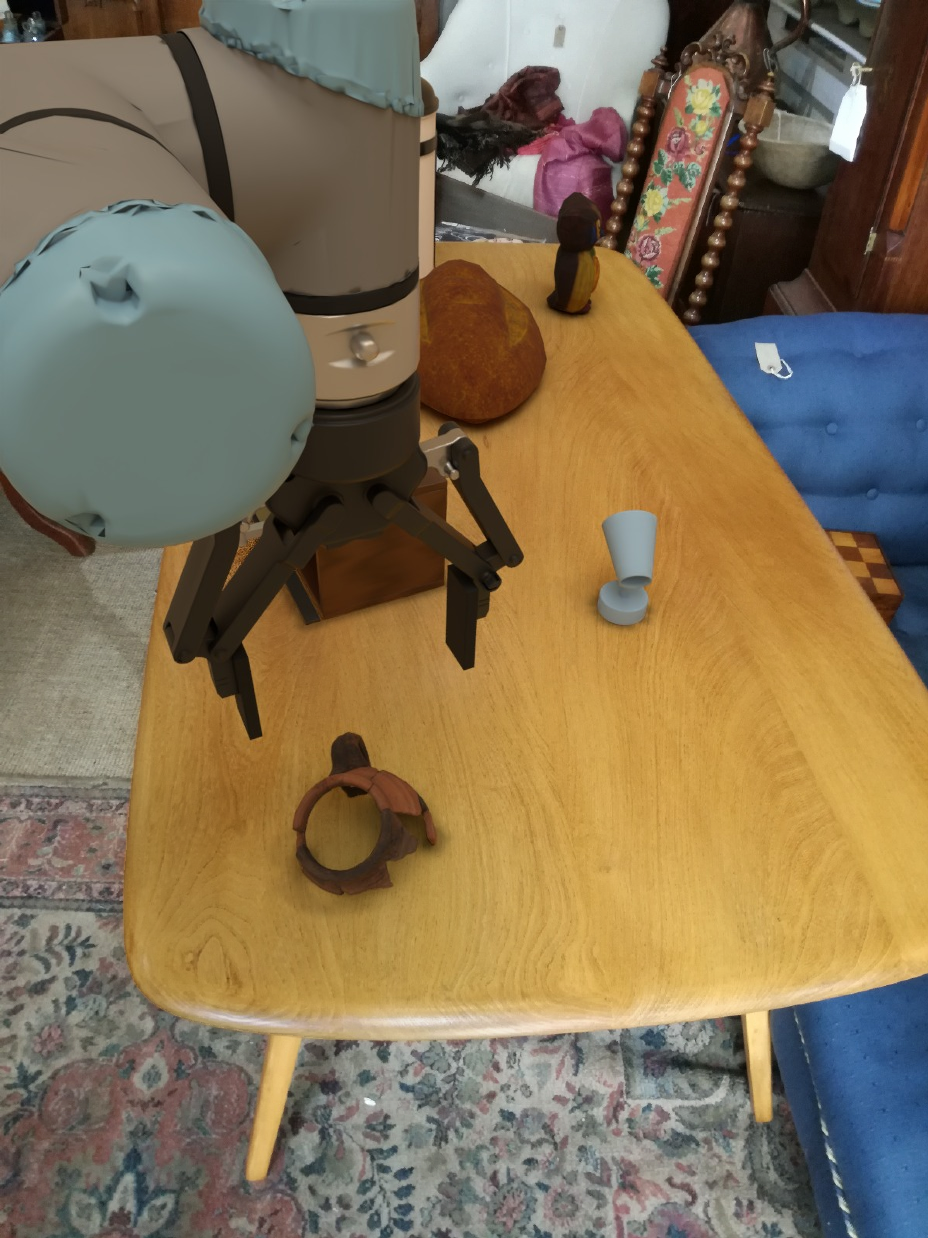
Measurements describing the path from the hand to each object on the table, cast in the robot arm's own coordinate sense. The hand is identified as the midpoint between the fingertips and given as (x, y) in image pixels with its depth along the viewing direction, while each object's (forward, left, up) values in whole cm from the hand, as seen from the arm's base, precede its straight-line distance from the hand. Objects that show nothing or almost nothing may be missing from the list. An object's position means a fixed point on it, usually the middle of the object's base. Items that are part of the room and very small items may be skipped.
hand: (359, 687), depth 57 cm
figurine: (+59, +71, -16) cm, 94 cm away
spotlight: (+31, +14, -16) cm, 37 cm away
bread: (+37, +61, -16) cm, 73 cm away
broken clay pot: (0, 0, -16) cm, 16 cm away
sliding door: (+2, +39, -15) cm, 42 cm away
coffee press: (+37, +86, -16) cm, 95 cm away
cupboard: (+10, +33, -16) cm, 38 cm away
